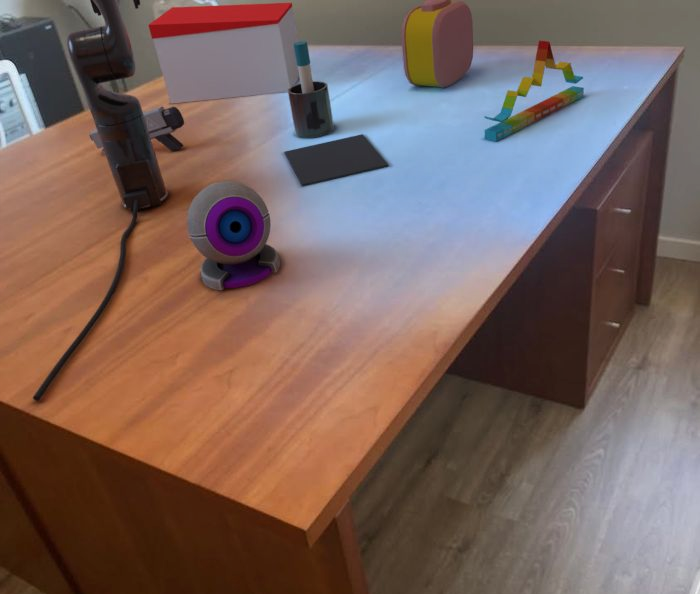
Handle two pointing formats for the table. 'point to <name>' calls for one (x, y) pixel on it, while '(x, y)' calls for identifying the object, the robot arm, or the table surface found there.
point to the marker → (304, 66)
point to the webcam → (231, 235)
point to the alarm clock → (437, 43)
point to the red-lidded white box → (226, 50)
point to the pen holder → (311, 110)
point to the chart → (540, 109)
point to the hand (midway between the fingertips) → (118, 11)
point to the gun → (157, 127)
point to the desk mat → (334, 159)
